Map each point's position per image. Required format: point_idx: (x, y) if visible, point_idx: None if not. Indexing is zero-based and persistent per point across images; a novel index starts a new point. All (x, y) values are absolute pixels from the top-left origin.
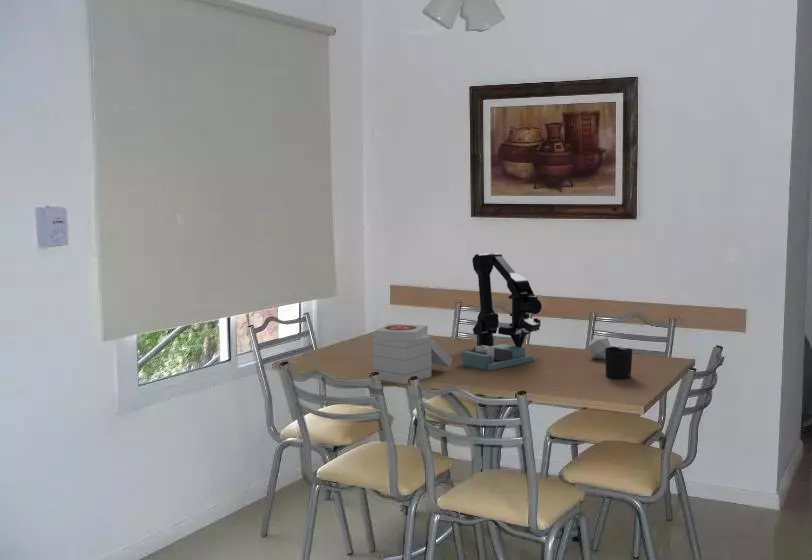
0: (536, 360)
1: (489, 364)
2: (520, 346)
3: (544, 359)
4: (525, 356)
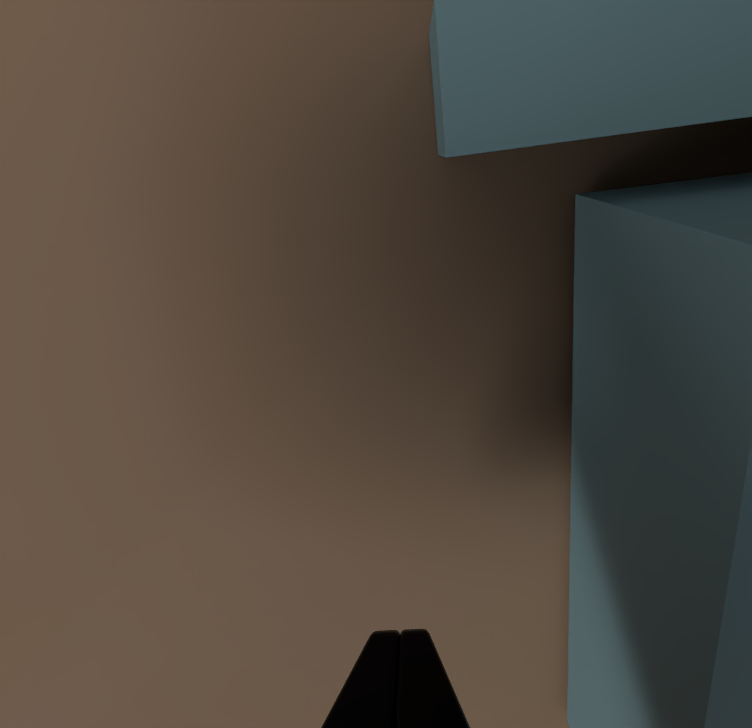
0: (305, 43)
1: None
2: (393, 712)
3: (47, 8)
4: (715, 101)
